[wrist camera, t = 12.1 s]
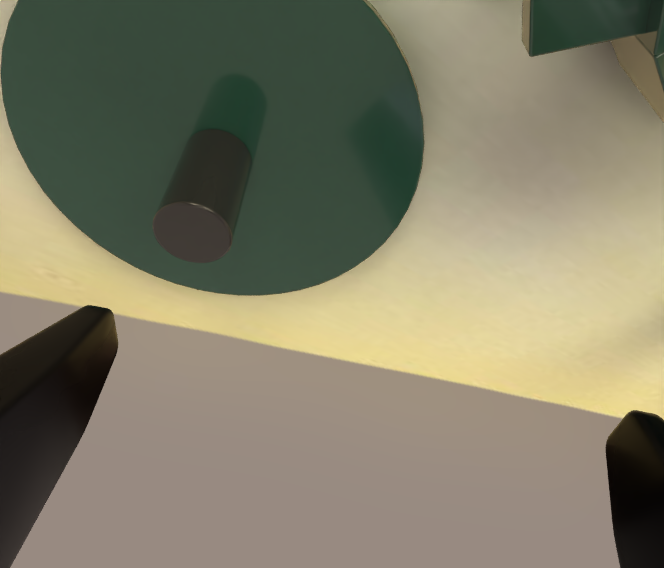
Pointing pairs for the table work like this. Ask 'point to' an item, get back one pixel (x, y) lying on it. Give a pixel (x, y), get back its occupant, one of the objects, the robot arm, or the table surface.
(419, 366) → the table surface
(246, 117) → the pot lid
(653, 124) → the table surface
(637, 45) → the pot
